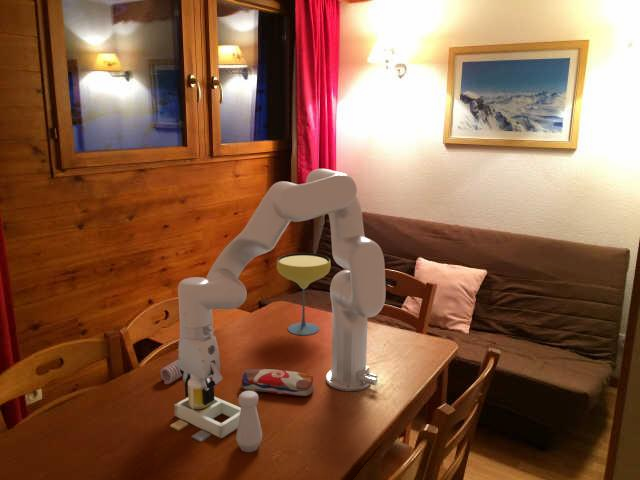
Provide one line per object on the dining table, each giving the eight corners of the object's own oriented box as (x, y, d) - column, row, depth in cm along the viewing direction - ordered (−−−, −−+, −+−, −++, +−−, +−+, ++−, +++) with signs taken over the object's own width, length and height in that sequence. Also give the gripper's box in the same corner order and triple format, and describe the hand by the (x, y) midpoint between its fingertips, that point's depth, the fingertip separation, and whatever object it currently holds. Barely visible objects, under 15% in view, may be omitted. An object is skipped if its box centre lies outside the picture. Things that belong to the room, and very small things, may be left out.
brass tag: (188, 425, 126) (188, 423, 126) (178, 430, 123) (178, 429, 123) (180, 420, 127) (179, 419, 127) (170, 426, 125) (170, 425, 125)
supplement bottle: (216, 405, 131) (214, 369, 129) (200, 415, 127) (198, 378, 124) (200, 399, 134) (198, 363, 132) (184, 409, 129) (182, 372, 127)
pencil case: (299, 409, 134) (299, 391, 133) (235, 390, 142) (234, 373, 141) (318, 389, 143) (319, 372, 142) (257, 373, 152) (257, 357, 151)
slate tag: (210, 435, 122) (210, 434, 121) (201, 442, 119) (200, 440, 119) (201, 431, 123) (201, 429, 123) (191, 437, 121) (191, 436, 121)
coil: (171, 372, 143) (213, 347, 158) (157, 366, 145) (200, 342, 160) (170, 387, 144) (212, 361, 160) (157, 381, 146) (200, 356, 162)
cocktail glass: (337, 324, 188) (338, 256, 182) (316, 343, 172) (317, 269, 166) (292, 316, 195) (292, 250, 189) (267, 334, 179) (266, 262, 173)
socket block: (247, 421, 127) (246, 410, 127) (221, 438, 121) (221, 426, 120) (200, 401, 136) (200, 390, 136) (174, 415, 129) (174, 404, 129)
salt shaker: (237, 439, 120) (235, 387, 117) (262, 438, 121) (261, 386, 118) (235, 455, 115) (234, 401, 112) (262, 454, 115) (261, 400, 112)
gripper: (234, 332, 124) (236, 402, 128) (184, 317, 133) (187, 382, 137) (210, 343, 118) (213, 416, 122) (160, 326, 127) (164, 394, 131)
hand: (199, 398), depth 130 cm, fingers closed on supplement bottle, 5 cm apart
